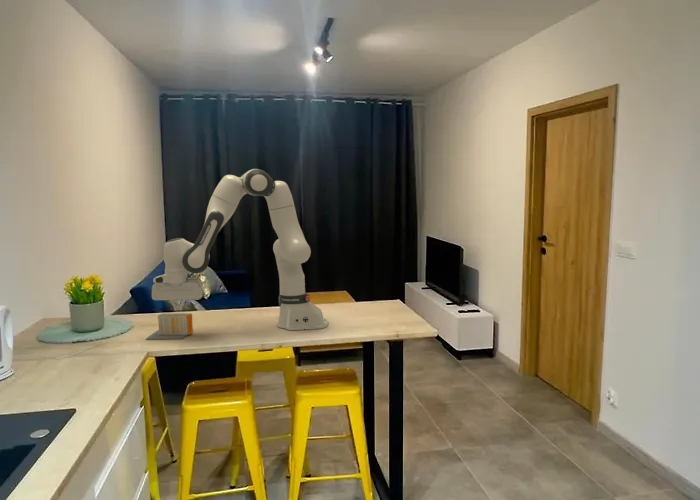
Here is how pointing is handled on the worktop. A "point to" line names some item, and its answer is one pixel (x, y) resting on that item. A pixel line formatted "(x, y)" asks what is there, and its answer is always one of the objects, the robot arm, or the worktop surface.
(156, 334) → the rubber mat
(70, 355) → the butter knife
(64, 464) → the worktop surface
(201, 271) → the robot arm
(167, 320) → the supplement box
